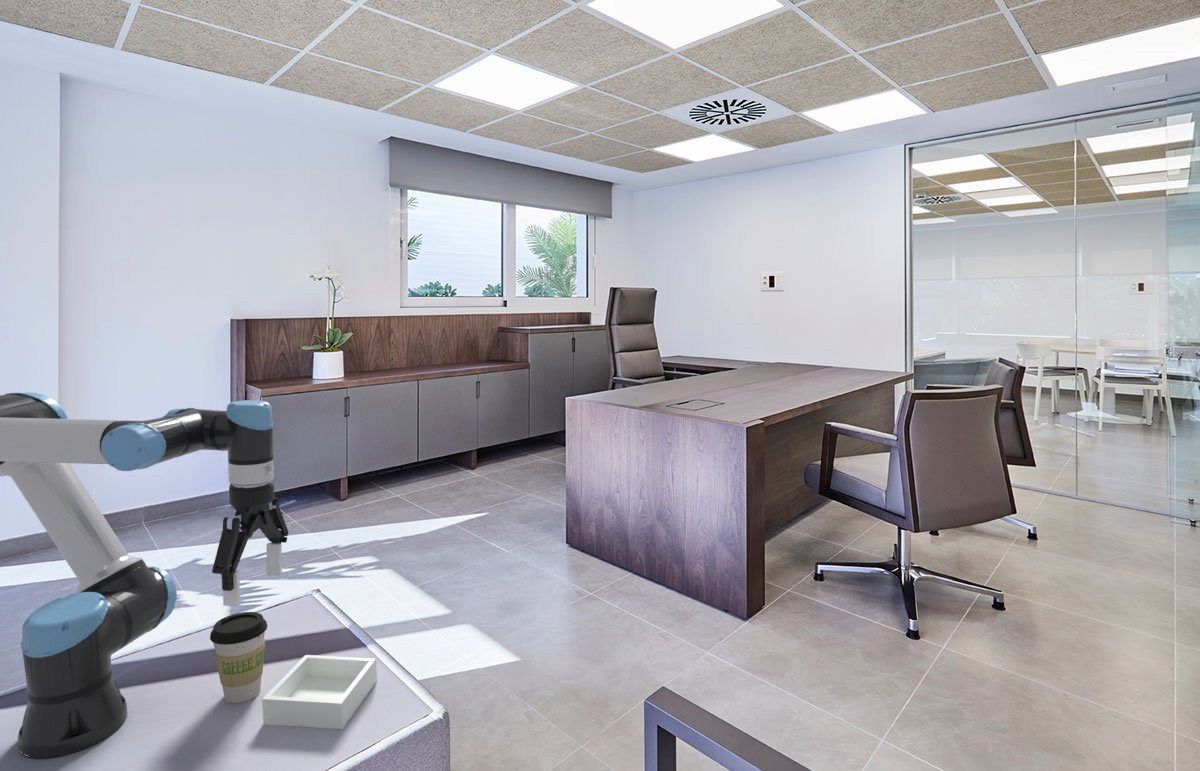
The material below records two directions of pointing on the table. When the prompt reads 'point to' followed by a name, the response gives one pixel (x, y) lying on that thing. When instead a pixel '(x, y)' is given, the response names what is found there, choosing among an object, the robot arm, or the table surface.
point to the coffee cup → (240, 654)
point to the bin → (320, 692)
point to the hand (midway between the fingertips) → (254, 589)
